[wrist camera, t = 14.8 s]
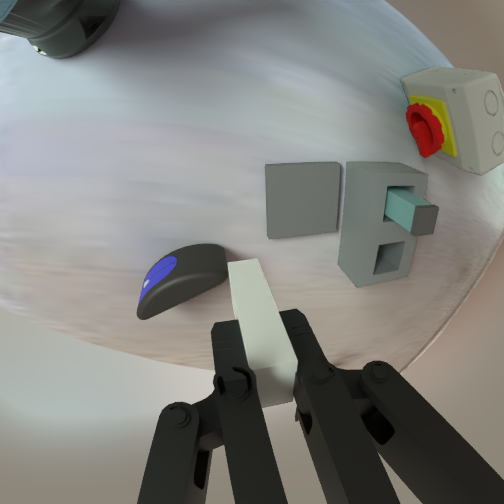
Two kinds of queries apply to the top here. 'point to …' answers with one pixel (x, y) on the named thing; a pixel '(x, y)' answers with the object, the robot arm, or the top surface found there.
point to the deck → (301, 198)
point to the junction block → (376, 223)
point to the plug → (410, 211)
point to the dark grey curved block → (181, 278)
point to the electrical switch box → (457, 116)
